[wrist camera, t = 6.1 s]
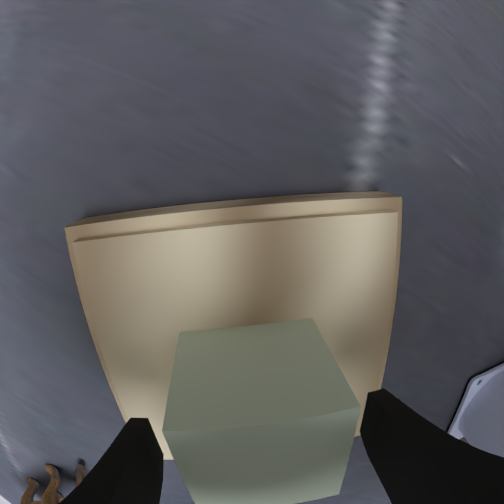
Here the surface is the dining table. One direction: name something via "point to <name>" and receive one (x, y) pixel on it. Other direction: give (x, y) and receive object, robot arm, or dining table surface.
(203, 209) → the plinth
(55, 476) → the lion figurine
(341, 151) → the dining table surface
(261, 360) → the sage cube
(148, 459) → the robot arm
